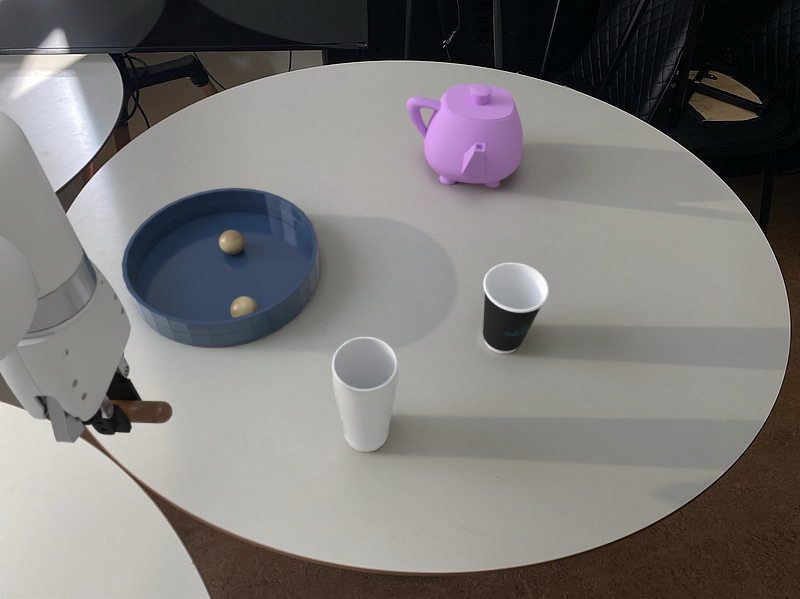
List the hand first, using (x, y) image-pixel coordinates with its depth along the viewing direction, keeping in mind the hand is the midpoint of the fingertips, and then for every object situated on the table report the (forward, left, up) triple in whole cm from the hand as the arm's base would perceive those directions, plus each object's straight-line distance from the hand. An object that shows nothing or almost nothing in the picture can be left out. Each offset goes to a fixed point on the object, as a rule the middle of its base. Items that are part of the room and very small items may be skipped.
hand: (119, 415), depth 55 cm
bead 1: (+35, 0, -12) cm, 37 cm away
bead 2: (+23, -5, -12) cm, 26 cm away
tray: (+31, 0, -15) cm, 35 cm away
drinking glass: (+7, -22, -15) cm, 28 cm away
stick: (0, -1, 0) cm, 1 cm away
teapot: (+57, -34, -15) cm, 68 cm away
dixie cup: (+22, -39, -15) cm, 47 cm away
